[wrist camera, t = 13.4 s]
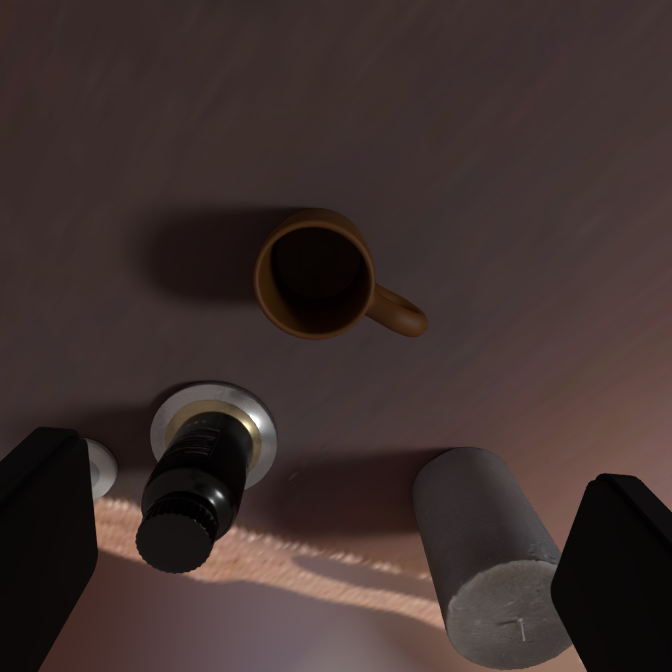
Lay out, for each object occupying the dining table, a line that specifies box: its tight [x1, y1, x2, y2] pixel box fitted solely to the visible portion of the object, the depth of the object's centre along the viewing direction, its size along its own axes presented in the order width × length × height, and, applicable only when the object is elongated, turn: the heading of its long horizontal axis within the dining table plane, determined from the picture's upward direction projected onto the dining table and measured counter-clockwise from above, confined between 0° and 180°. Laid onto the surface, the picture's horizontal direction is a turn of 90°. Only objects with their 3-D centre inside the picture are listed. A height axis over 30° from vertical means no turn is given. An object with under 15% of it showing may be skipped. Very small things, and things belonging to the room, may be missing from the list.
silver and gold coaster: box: [150, 381, 278, 490], centre depth 41 cm, size 11×11×1 cm
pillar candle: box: [412, 447, 573, 670], centre depth 37 cm, size 10×10×15 cm
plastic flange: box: [83, 438, 118, 499], centre depth 42 cm, size 6×6×1 cm
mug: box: [253, 208, 428, 340], centre depth 32 cm, size 12×8×9 cm, turn 64°
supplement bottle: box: [135, 411, 254, 574], centre depth 35 cm, size 7×7×12 cm
